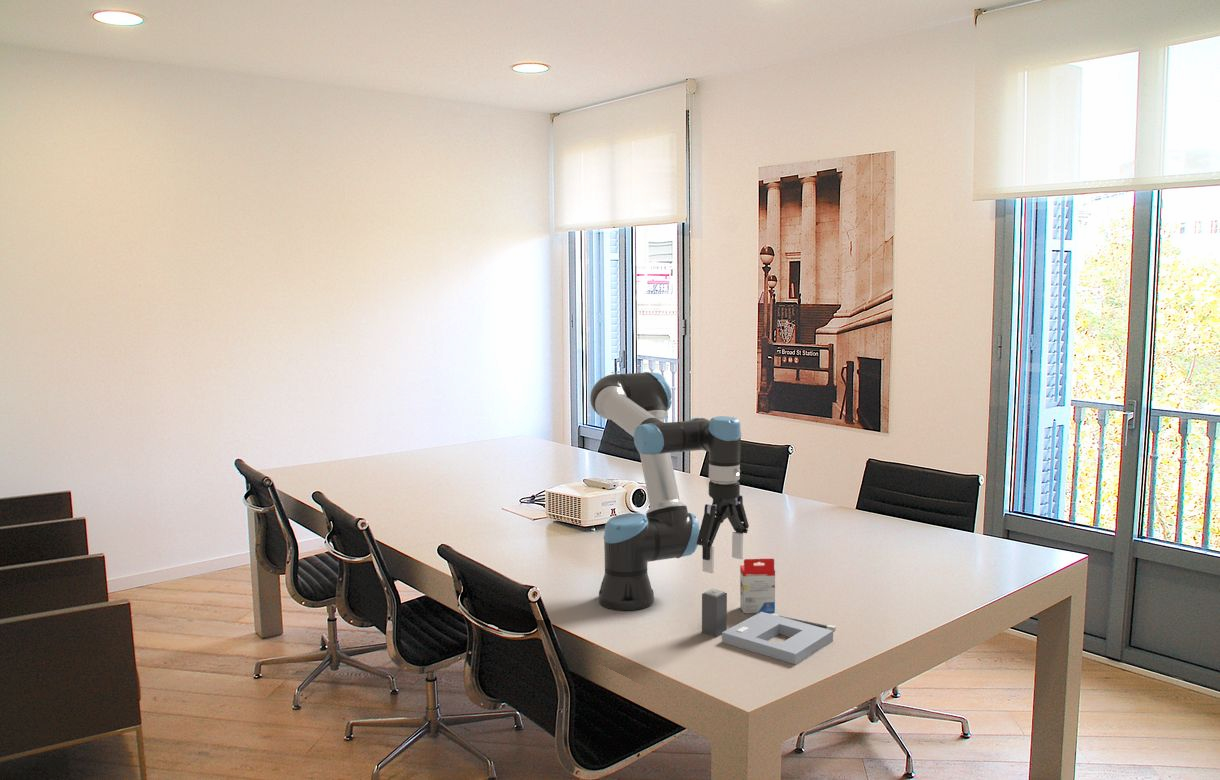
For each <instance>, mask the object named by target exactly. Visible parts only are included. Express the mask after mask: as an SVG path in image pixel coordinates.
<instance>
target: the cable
mask: <svg viewBox="0 0 1220 780" xmlns="http://www.w3.org/2000/svg"><path fill="white" fill-rule="evenodd" d="M771 614H773V615H776V616H780V617H784V618H788V619H791V620H795V621H799V622H803V623H806V624H810V625H814V626H817V627H821V628H825V629H829V630H832V631H833V632H835V631H836V630H837V626H836V625H831V624H828V625H827V624H821V623H816V622H813V621H806V620H802V619H797V618H796V619H795V618H792V617H788V616H787V617H786V616H783V615H780V614H779V613H778V614H777V613H775V612H774V613H771Z"/></svg>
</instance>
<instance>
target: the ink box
mask: <svg viewBox="0 0 1220 780" xmlns="http://www.w3.org/2000/svg"><path fill="white" fill-rule="evenodd" d="M758 563H760V564H758ZM739 567H740V568H739V569H740V570H739V573H740V574H739V576H740V577H739V578H740V579H739V580H740V581H739V583H740V585H739V590H740V591H739V592H740V593H739V594H740V595H739V597H740V605H739V607H740V609H741V611H742V612H743V614H758V613H760V612H765V613H769V614H772V613H774V614H775V613H776V612H775V611H776V570H775V558H745V559H743V565H742V564H741V565H740V566H739Z"/></svg>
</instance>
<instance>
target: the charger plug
mask: <svg viewBox="0 0 1220 780" xmlns="http://www.w3.org/2000/svg"><path fill="white" fill-rule="evenodd" d="M727 619H728V593H727V592H725V591H724V590H719V589H716V588H710V589H709V590H706V591H704V592H703V593H702V594H701V633H702V634H704V635H708V636H711V637H714V638H718V637H720V636H722V632H724V631H726V630H728V628H727V626H728V625H727V624H728V620H727Z"/></svg>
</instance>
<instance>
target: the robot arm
mask: <svg viewBox="0 0 1220 780" xmlns="http://www.w3.org/2000/svg"><path fill="white" fill-rule="evenodd" d="M589 396H590V397H589V398H590V399H589V401H590V405H591V408H592V409H593V410H594V412H595V413H596V414H597V415H599V416H600V417H601V418H603V419H605V420H610V421H612V422H613V423H615V425H617V426H618V427H620V428H621V429H623V430H624V431H625V432H626V433H628V435H630V436H631V437H632V438H633V442H634V446H635V448H636V450H637V452H638V454H639V457H640V461H641V462H640V463H641V468H642V472H643V477H644V482H645V483H644V484H645V488H646V493H647V498H648V502H649V503H648V504H649V508H648V509H647V511H646V512H645V514H643V513H640V512H634V513H631V512H628V513H622V514H619V515H615V516H613V517H612V518H609V519H608V521H606V523H605V525H604V535H603V542H604V547H603V549H604V575H603V578H602V581H601V584H600V588H599V591H598V603H599V604H600V605H601V606H602V607H605V608H607V609H611V610H614V611H615V610H616V611H637V610H643V609H645V608H648V607H650V606H652V605H653V604H654V602H655V594H654V590H653V588H652V585H651V581H650V577H649V575H648V562H654V561H662V560H669V559H680V558H683V557H687V556H691V555H693V554H694V553H695V552H696V550H697V548H698V546H701V548H702V554H701V555H702V572H704V573H709V574H714V573H715V572H714V571H715V569H714V568H715V546H713V544H714V541H715V539H716V536H717V534H718V531H719V528H720V526H721V525H722V524H723V523H724V522H725V520H726V519H727V520H728V521H729V523H730V525H731V527H732V529H733V530H734V531H733V532H731V533H732V534H731V536H732V537H731V539H732V541H731V542H732V543H731V546H732V548H731V558H734V559H739V560H742V559H743V560H744V534H747V533H748V530H749V527H750V525H749V520H748V518H747V513H746V510H745V507H744V500H743V499H744V498H743V495H741V493H740V490H741V483H740V482H739V480H741V479H740V478H741V475H740V473H741V469H740V468H741V465H740V463H741V447H742V446H741V445H742V444H741V443H742V442H741V441H742V440H741V439H742V433H741V421H740V420H739V419H738V418H737V417H734V416H714V417H712V418H710V420H709V419H706V418H705V417H693V418H691V419H689V420H685V421H670V422H669V421H667V422H665V421H664V420H665V419H666V418H667V416H668V411H669V410H670V409H671V407H672V397H673V395H672V389H671V386H670V384H669V382H668V380H667V378H665V376H663V375H662V374H661V373H659V372H649V371H644V372H635V373H634V372H633V373H631V372H630V373H620V374H619V373H614V374H613V373H612V374H609V375H605V376H604V377H602V378H600V379H599V380H598V381H596V383H594V385H593V387H592V389H591V391H590V395H589ZM692 451H694V452H695V451H705V452H708V479H709V481H708V495H709V498H711V499H712V504H704V512H703V517H702V522H701V524H700V523H699V520H698V518H697V517H696V515H695V514H694V513H691V512H689V511H688V506H687V505H686V504H685V503H684V502H682V501H681V499H680V495H679V494H680V493H679V489H678V485H677V479H676V476H675V475H676V474H675V470H674V467H673V466H674V465H673V459H672V456H671V455H672V454H673V453H683V452H692Z"/></svg>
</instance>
